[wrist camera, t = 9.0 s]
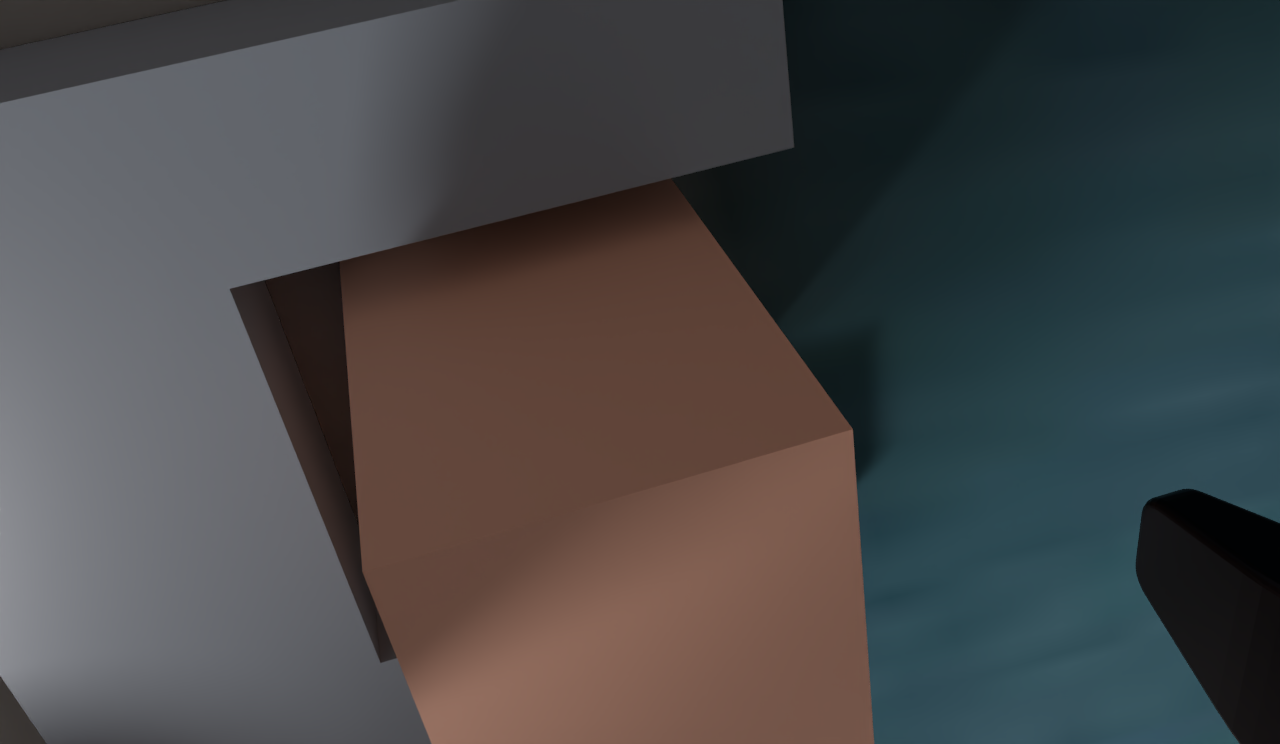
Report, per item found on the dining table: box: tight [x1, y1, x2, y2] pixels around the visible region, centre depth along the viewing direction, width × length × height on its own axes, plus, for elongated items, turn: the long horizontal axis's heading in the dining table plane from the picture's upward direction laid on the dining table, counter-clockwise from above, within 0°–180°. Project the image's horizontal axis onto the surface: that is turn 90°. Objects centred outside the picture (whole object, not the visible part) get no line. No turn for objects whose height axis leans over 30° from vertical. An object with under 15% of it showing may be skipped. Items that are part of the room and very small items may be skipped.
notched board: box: [0, 0, 794, 744], centre depth 14 cm, size 10×10×2 cm
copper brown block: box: [339, 178, 874, 744], centre depth 13 cm, size 4×4×6 cm
